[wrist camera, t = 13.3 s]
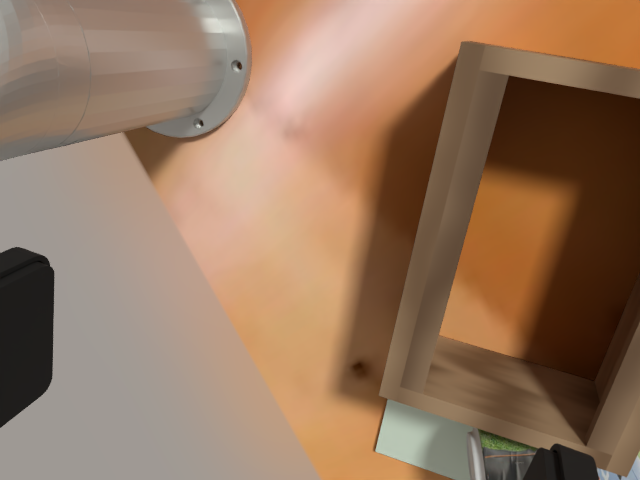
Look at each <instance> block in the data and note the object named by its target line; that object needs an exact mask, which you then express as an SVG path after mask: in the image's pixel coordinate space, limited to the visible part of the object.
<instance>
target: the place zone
mask: <svg viewBox="0 0 640 480" xmlns="http://www.w3.org/2000/svg"><path fill="white" fill-rule="evenodd" d="M472 430H473V427H472V426H469V425H466V424H463V423H459V422H456V421H453V420H450V419H447V418H444V417H441V416H438V415H435V414H432V413H429V412H426V411H423V410H420V409H417V408H414V407H411V406H408V405H405V404H402V403H399V402H396V401H393V400H389V399H388V400H387V405H386V409H385V413H384V417H383V421H382V425H381V429H380V433H379V438H378V442H377V446H376V450H375V452H378V453H381V454H384V455H386V456H389V457H392V458H395V459H398V460H401V461H403V462H406V463H409V464H412V465H415V466H418V467H420V468H423V469H426V470H429V471H432V472H435V473H437V474H440V475H443V476H446V477H449V478H451V479H454V480H470V474H469V466H468V456H467V433H468V432H471V431H472Z"/></svg>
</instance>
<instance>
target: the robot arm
mask: <svg viewBox="0 0 640 480" xmlns="http://www.w3.org/2000/svg"><path fill="white" fill-rule="evenodd" d="M240 62H241V64H242V69H240V68H239V66H238V65H239V63H240ZM251 67H252V47H251V41H250V36H249V31H248V27H247V24H246V22H245V19H244V16H243V13H242V11H241V9H240V8H239V6H238V4H237V2H236V1H235V0H0V161H3V160H6V159H10V158H14V157H18V156H22V155H26V154H30V153H35V152H39V151H43V150H47V149H52V148H57V147H61V146H66V145H70V144H74V143H78V142H82V141H86V140H90V139H95V138H99V137H103V136H108V135H111V134H116V133H120V132H125V131H129V130H133V129H137V128H142V127H147V128H148V129H150V130H152V131H154V132H156V133H159V134H162V135H165V136H169V137H177V138H185V137H194V136H198V135H201V134H205V133H207V132H209V131H211V130H214V129H216V128H218V127H219V126H220V125H221V124H223V123H224V122H225V121H227V120H228V119H229V118H230V117H231V115H232V114H233V113H234V112H235V111H236V109H237V108H238V106H239V105H240V103H241V101H242V99H243V97H244V95H245V92H246V89H247V86H248V83H249V80H250V74H251ZM201 120H202V121H203V124H204V126H203V125H202V124H201ZM53 313H54V270H53V269H52V267H50V263H49V261H48V259H47V258H46V257H45V256H43V255H40V254H37V253H34V252H31V251H29V250H26V249H23V248H20V247H15V248H11V249H9V250H6V251H5V252H2V253H0V428H1V427H2V426H3V425H5V424H6V423H7V422H8V421H9V420H11V419H12V418H13V417H15V416H16V415H17V414H19V413H20V412H21V411H22V410H23V409H25V408H26V407H28V406H29V405H30V404H31V403H33V402H34V401H35V400H36V399H38V398H39V397H40V396H41V395H43V393H44V392H45V391H46V390H47V389H48V387H49V385H50V383H51V380H52V365H53V363H52V362H53V315H54V314H53ZM523 480H599V476H598V472H597V467H596V463H595V460H594V458H593V457H592V456H591V455H588V454H585V453H582V452H580V451H577V450H574V449H571V448H569V447H566V446H563V445H561V444H558V443H556V444H554V445H553V446H552V447H551V448H550V450H548V449H545V448H542V447H540V448H539V449H538V450H537V452H536V453H535V455H534V457H533V459H532V462H531V464H530V466H529V468H528V470H527V472H526V474H525V476H524V478H523Z"/></svg>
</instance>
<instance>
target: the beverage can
mask: <svg viewBox="0 0 640 480" xmlns="http://www.w3.org/2000/svg"><path fill="white" fill-rule="evenodd" d="M538 449H539V448H536V447H533V446H529V445H526V444H523V443H520V442H517V441H514V440H511V439H508V438H505V437H502V436H499V435H496V434H493V433H490V432H487V431H484V430H481V429H478V428H475V427H473V430H472V431H471V432H468V433H467V456H468V466H469V474H470V480H523V478H524V476H525V474H526V472H527V470H528V468H529V466H530V464H531V462H532V459H533V457H534V455H535V453H536V452H537V450H538ZM597 472H598V476H599V480H640V451H639V453H638V455H637V457H636V460H635V462H634V464H633V466H632V468H631V470H630V472H629V474H628V476H627V477H624V476H621V475H618V474H615V473H612V472H609V471H606V470H603V469H599V468H597Z"/></svg>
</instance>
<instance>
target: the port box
mask: <svg viewBox="0 0 640 480" xmlns="http://www.w3.org/2000/svg"><path fill="white" fill-rule="evenodd" d="M509 75H510V76H515V77H521V78H527V79H532V80H538V81H544V82H549V83H555V84H561V85H566V86H572V87H578V88H583V89H589V90H595V91H600V92H606V93H612V94H617V95H623V96H629V97H634V98H640V69H635V68H629V67H623V66H617V65H611V64H605V63H599V62H593V61H587V60H581V59H575V58H569V57H563V56H557V55H551V54H545V53H539V52H533V51H527V50H521V49H514V48H508V47H502V46H496V45H490V44H484V43H478V42H472V41H467V42H461V46H460V50H459V54H458V59H457V63H456V67H455V71H454V76H453V80H452V84H451V89H450V93H449V97H448V101H447V106H446V110H445V114H444V118H443V123H442V127H441V131H440V136H439V140H438V144H437V148H436V153H435V157H434V161H433V165H432V170H431V174H430V178H429V183H428V187H427V191H426V195H425V200H424V204H423V208H422V213H421V217H420V221H419V225H418V230H417V234H416V238H415V242H414V247H413V251H412V255H411V260H410V264H409V268H408V272H407V277H406V281H405V285H404V289H403V294H402V298H401V302H400V307H399V311H398V315H397V319H396V324H395V328H394V332H393V336H392V341H391V345H390V349H389V354H388V358H387V362H386V366H385V371H384V375H383V379H382V384H381V388H380V392H379V396H380V397H383V398H386V399H389V400H393V401H396V402H399V403H402V404H405V405H408V406H411V407H414V408H417V409H420V410H423V411H426V412H429V413H432V414H435V415H438V416H441V417H444V418H447V419H450V420H453V421H456V422H459V423H463V424H466V425H469V426H472V427H475V428H478V429H481V430H484V431H487V432H490V433H493V434H496V435H499V436H502V437H505V438H508V439H511V440H514V441H517V442H520V443H523V444H526V445H529V446H533V447H536V448H540V447H542V448H545V449H548V450H550V448H551V447H552V446H553V445H554V444H556V443H558V444H561V445H563V446H566V447H569V448H571V449H574V450H577V451H580V452H582V453H585V454H588V455H591V456H592V457H593V458H594V460H595V463H596V467H597V468H599V469H603V470H606V471H609V472H612V473H615V474H618V475H621V476H624V477H627V476H628V474H629V472H630V470H631V468H632V466H633V464H634V462H635V460H636V457H637V455H638V453H639V451H640V272H639V275H638V277H637V280H636V282H635V284H634V287H633V289H632V292H631V294H630V297H629V299H628V301H627V304H626V306H625V309H624V311H623V314H622V316H621V318H620V321H619V323H618V326H617V328H616V330H615V333H614V335H613V338H612V340H611V343H610V345H609V347H608V350H607V352H606V355H605V357H604V359H603V362H602V364H601V367H600V369H599V372H598V374H597V376H596V379H595V381H592V380H589V379H585V378H582V377H579V376H575V375H572V374H568V373H565V372H562V371H558V370H555V369H551V368H548V367H545V366H541V365H538V364H534V363H531V362H528V361H524V360H521V359H517V358H514V357H511V356H507V355H504V354H500V353H497V352H494V351H490V350H487V349H483V348H480V347H477V346H473V345H470V344H466V343H463V342H460V341H456V340H453V339H449V338H446V337H443V336H439V332H440V328H441V324H442V321H443V317H444V313H445V310H446V306H447V302H448V298H449V295H450V291H451V287H452V284H453V280H454V276H455V273H456V269H457V265H458V262H459V258H460V254H461V250H462V247H463V243H464V239H465V236H466V232H467V228H468V225H469V221H470V217H471V214H472V210H473V206H474V203H475V199H476V195H477V191H478V188H479V184H480V180H481V177H482V173H483V169H484V166H485V162H486V158H487V155H488V151H489V147H490V144H491V140H492V136H493V132H494V129H495V125H496V121H497V118H498V114H499V110H500V107H501V103H502V99H503V96H504V92H505V88H506V84H507V81H508V77H509Z"/></svg>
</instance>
